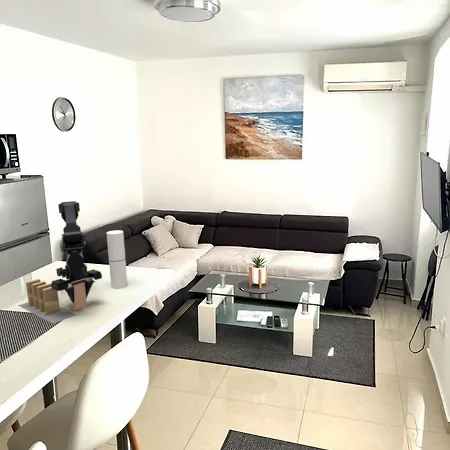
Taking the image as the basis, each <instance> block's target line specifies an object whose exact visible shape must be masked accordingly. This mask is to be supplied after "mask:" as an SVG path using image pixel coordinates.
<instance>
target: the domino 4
mask: <svg viewBox="0 0 450 450" xmlns="http://www.w3.org/2000/svg"><path fill="white" fill-rule="evenodd" d="M42 291H43V299H44V307H45V314H46V315H50V314H53V313H56V312H59V311H60V307H61V306H60V300H59V299H60V298H59V291H57V290H55V289H52V288H51V287H49V288H45V289H42ZM59 306H60V307H59Z"/></svg>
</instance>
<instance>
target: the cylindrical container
mask: <svg viewBox="0 0 450 450" xmlns="http://www.w3.org/2000/svg"><path fill="white" fill-rule="evenodd" d="M124 235H125V234H124V231H123V230H120V229H119V230H109V231H107V232H106V242H107V253H108V264H109V277H110V287H111V288H112V289H113V290H114V289H115V290H117V289H124V288H126V287H128V276H127V265H126V264H127V263H126V251H125V250H126V248H125V238H124Z"/></svg>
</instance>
